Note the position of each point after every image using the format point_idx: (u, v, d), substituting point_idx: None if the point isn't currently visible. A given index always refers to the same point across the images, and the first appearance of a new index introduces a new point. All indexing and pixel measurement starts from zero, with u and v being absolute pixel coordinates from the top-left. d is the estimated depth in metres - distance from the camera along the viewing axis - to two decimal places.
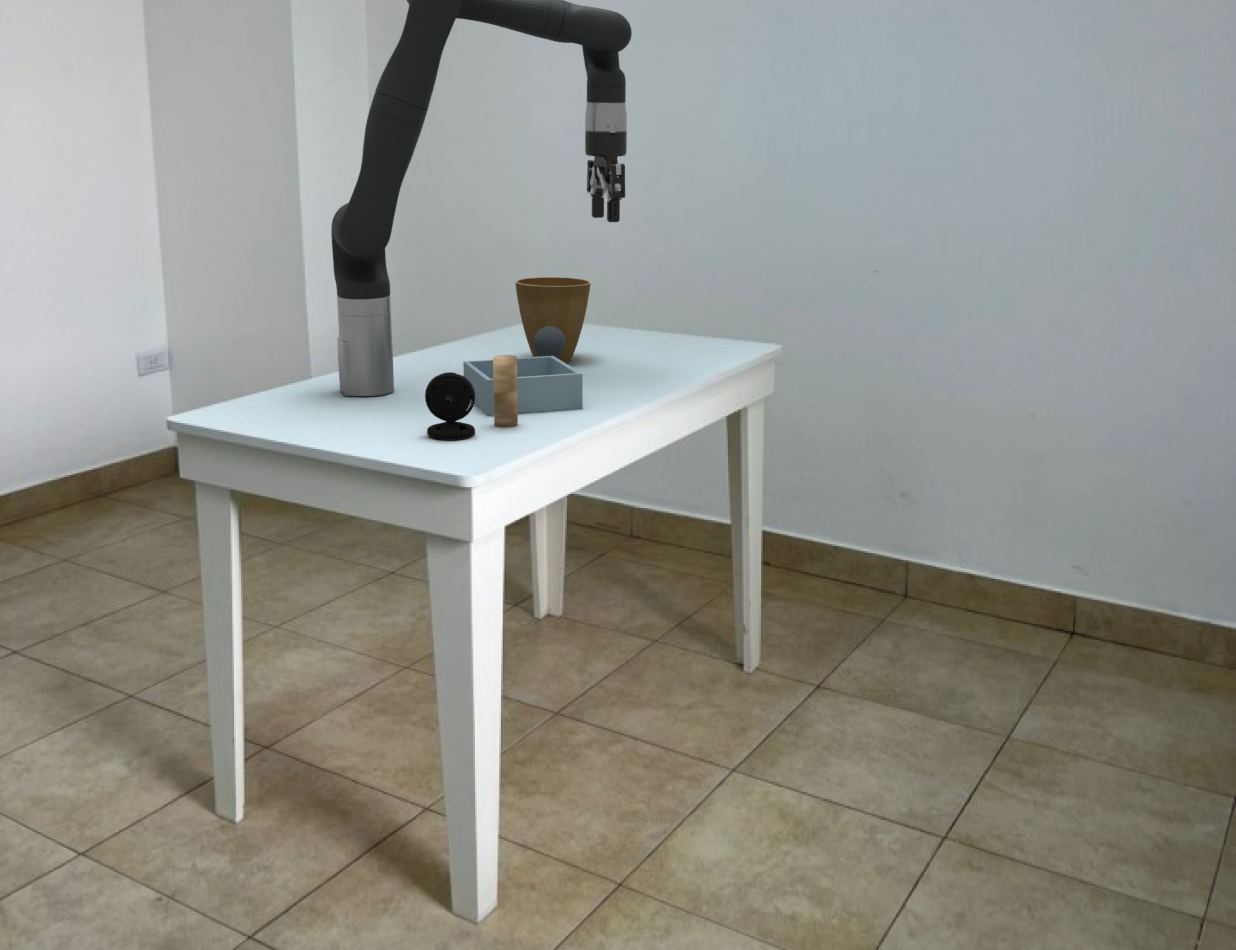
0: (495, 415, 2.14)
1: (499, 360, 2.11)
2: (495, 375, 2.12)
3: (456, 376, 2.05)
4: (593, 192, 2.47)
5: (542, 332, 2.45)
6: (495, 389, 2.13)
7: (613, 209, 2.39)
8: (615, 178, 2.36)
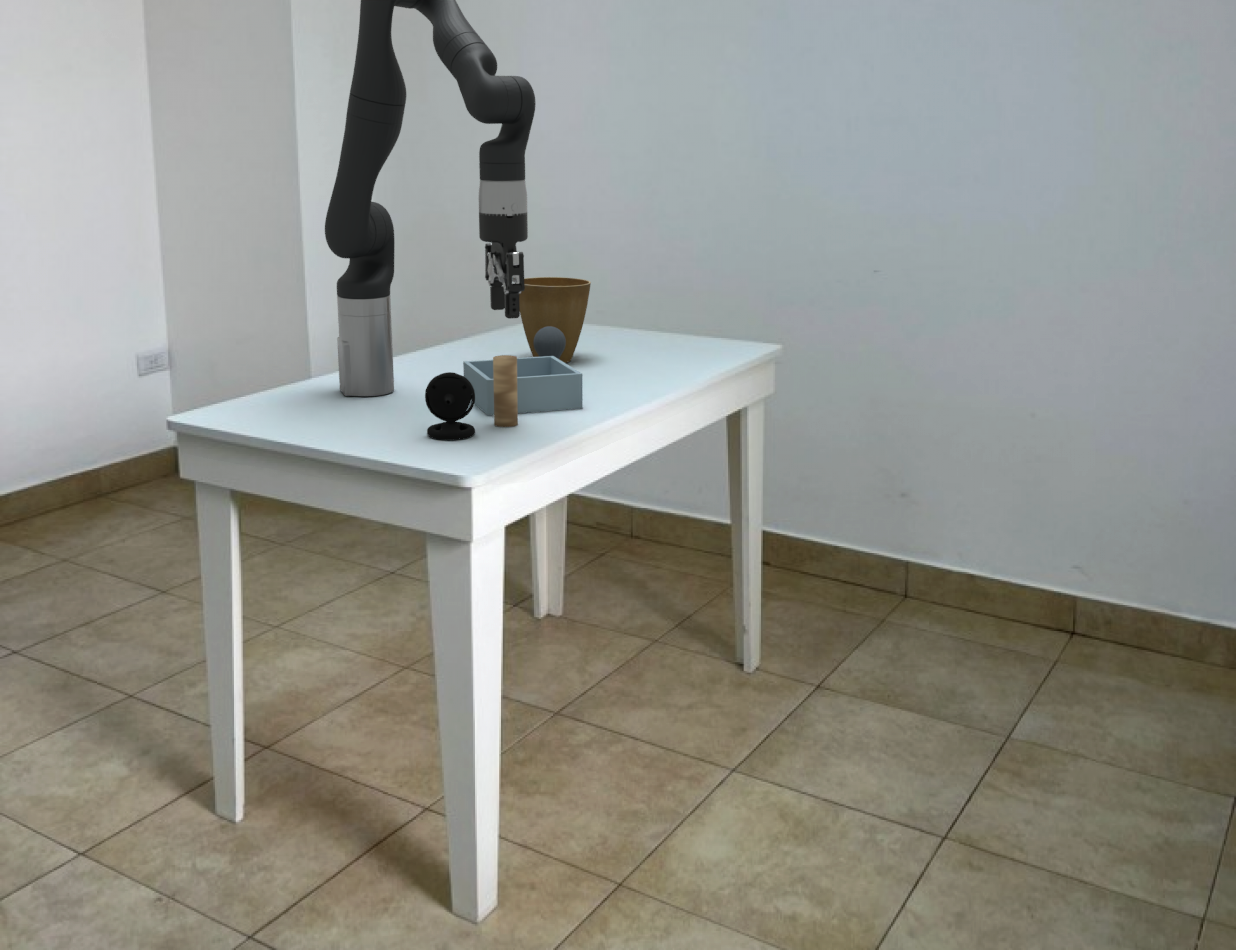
0: (495, 415, 2.14)
1: (499, 360, 2.11)
2: (495, 375, 2.12)
3: (456, 376, 2.05)
4: (491, 281, 2.13)
5: (542, 332, 2.45)
6: (495, 389, 2.13)
7: (511, 304, 2.05)
8: (512, 269, 2.02)
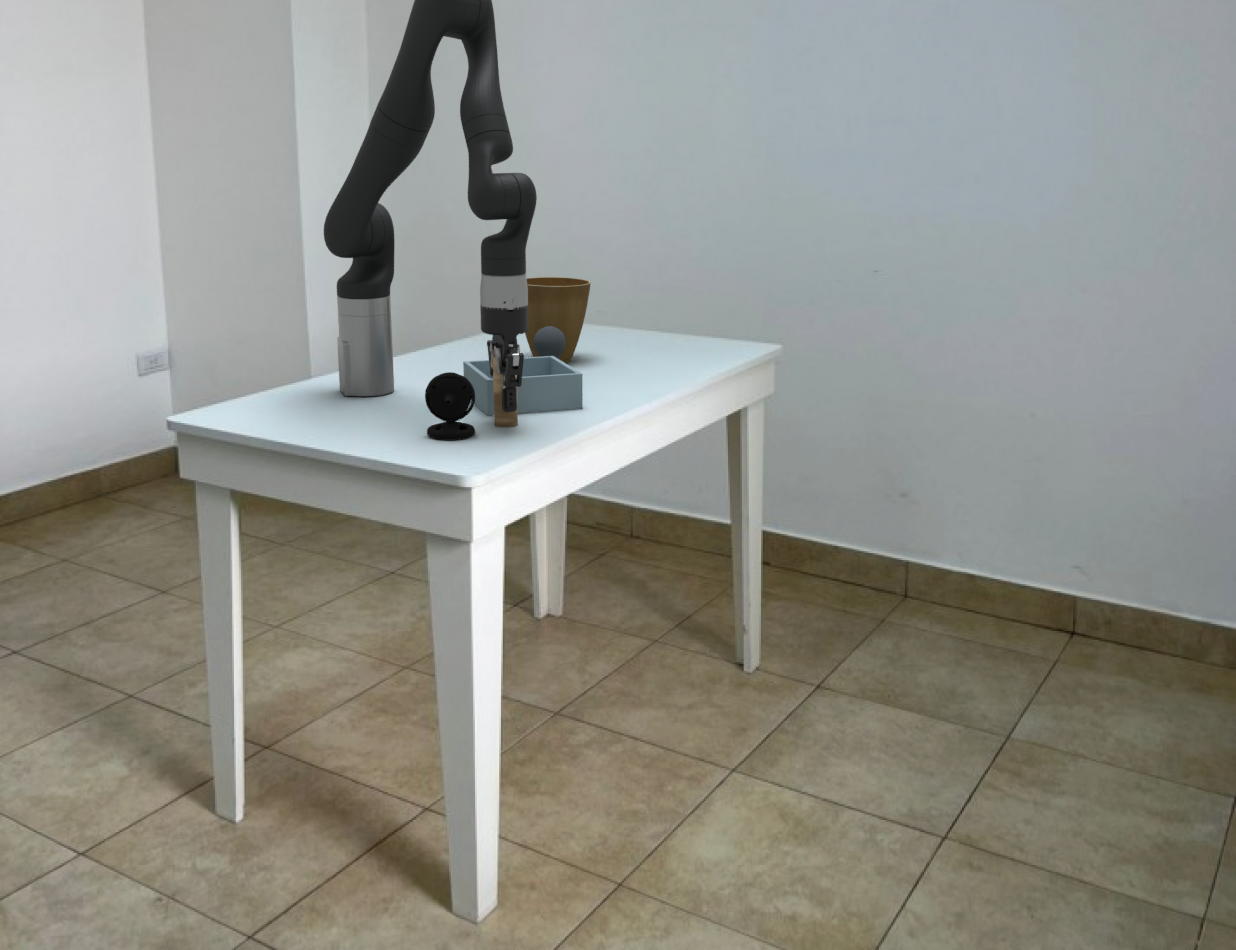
0: (495, 415, 2.14)
1: None
2: (495, 375, 2.12)
3: (456, 376, 2.05)
4: None
5: (542, 332, 2.45)
6: (495, 389, 2.13)
7: (508, 398, 2.11)
8: (511, 370, 2.07)
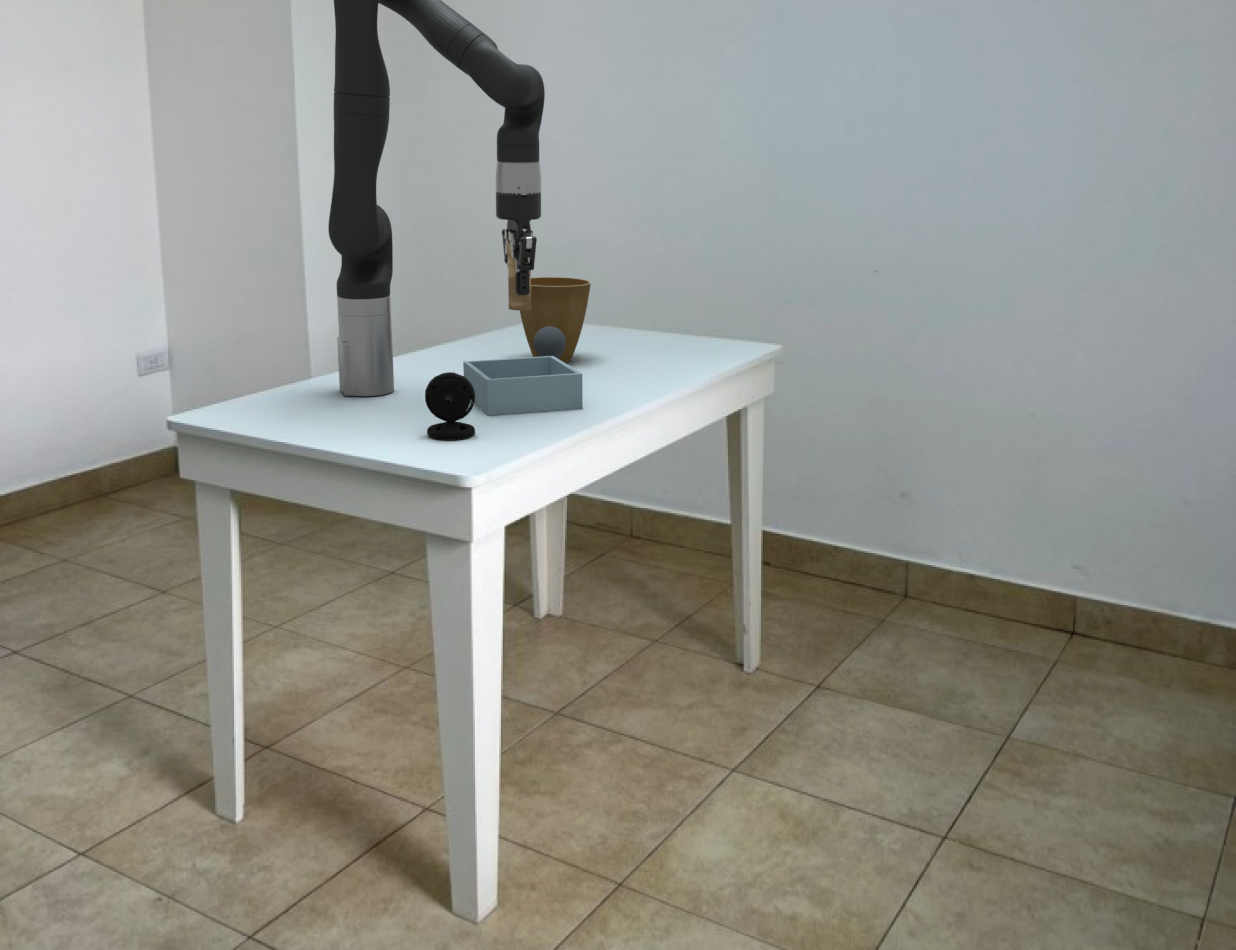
0: (509, 299, 2.25)
1: None
2: (510, 260, 2.23)
3: (456, 376, 2.05)
4: None
5: (542, 332, 2.45)
6: (510, 274, 2.24)
7: (522, 281, 2.22)
8: (524, 252, 2.18)
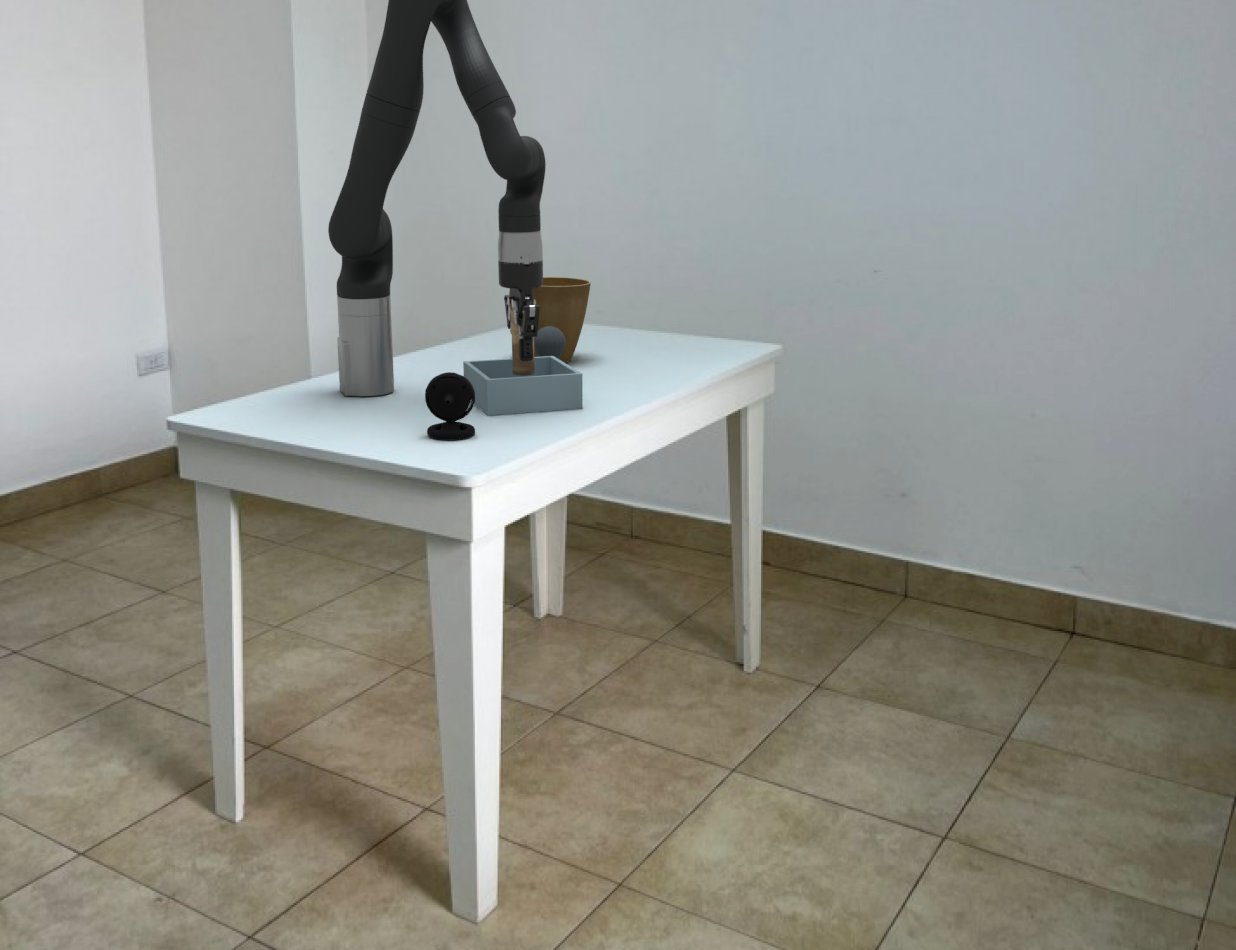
0: (513, 364, 2.29)
1: None
2: (513, 326, 2.27)
3: (456, 376, 2.05)
4: None
5: (542, 332, 2.45)
6: (513, 340, 2.28)
7: (525, 348, 2.26)
8: (528, 320, 2.22)
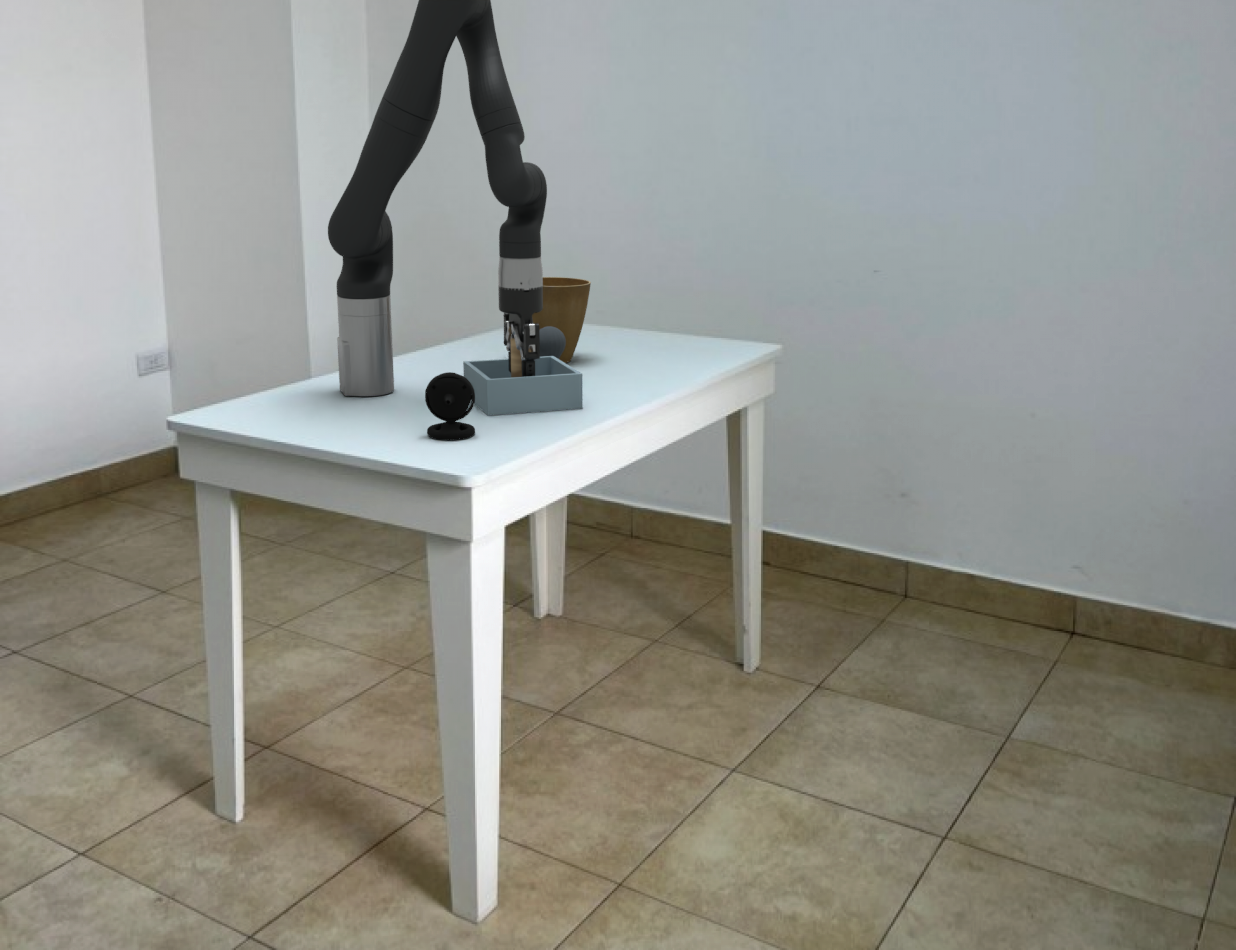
0: None
1: None
2: (512, 355, 2.28)
3: (456, 376, 2.05)
4: (509, 347, 2.32)
5: (542, 332, 2.45)
6: (512, 368, 2.29)
7: (528, 370, 2.25)
8: (529, 339, 2.22)
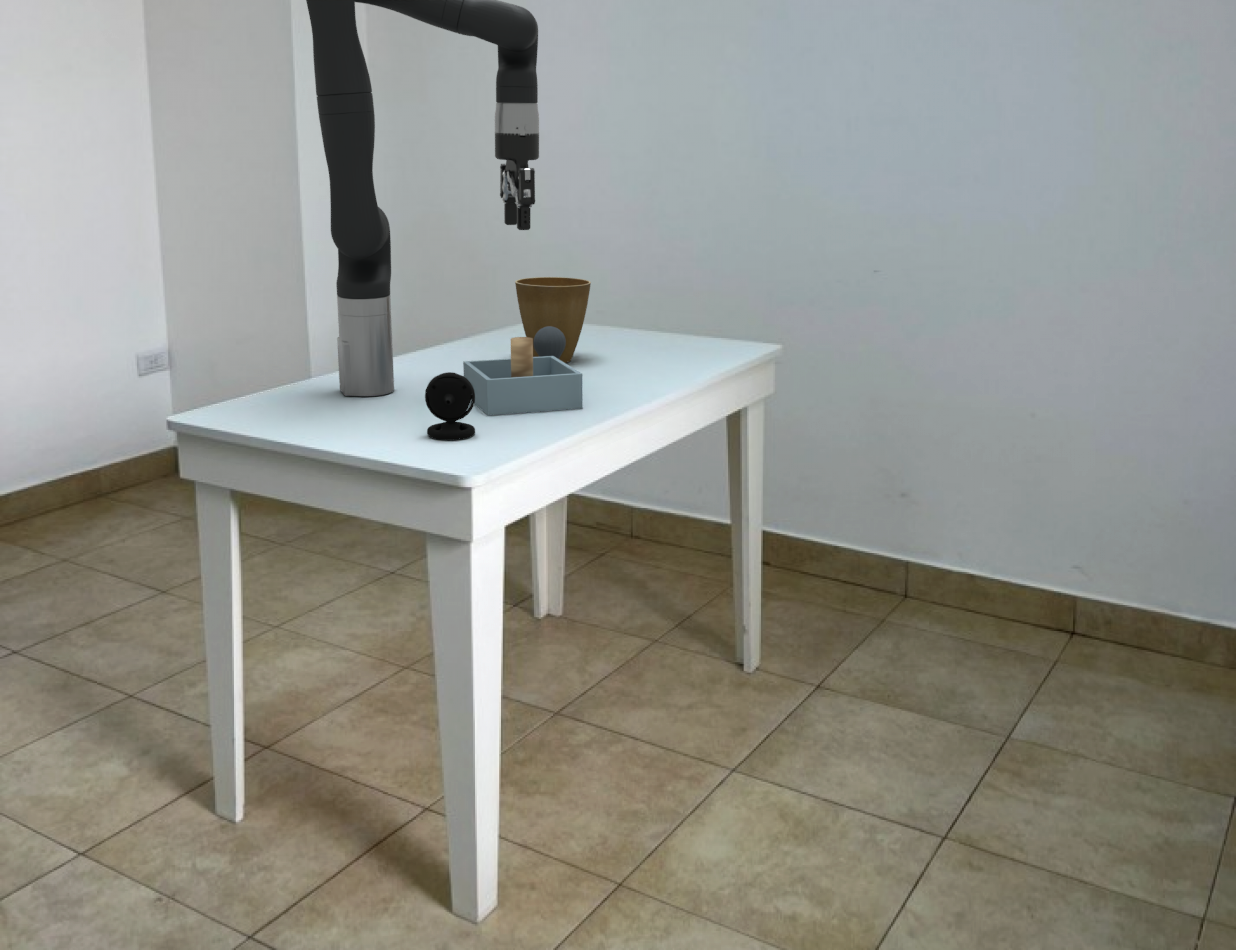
0: None
1: (516, 341, 2.27)
2: (512, 355, 2.28)
3: (456, 376, 2.05)
4: (505, 198, 2.33)
5: (542, 332, 2.45)
6: (512, 368, 2.29)
7: (523, 216, 2.25)
8: (524, 183, 2.22)
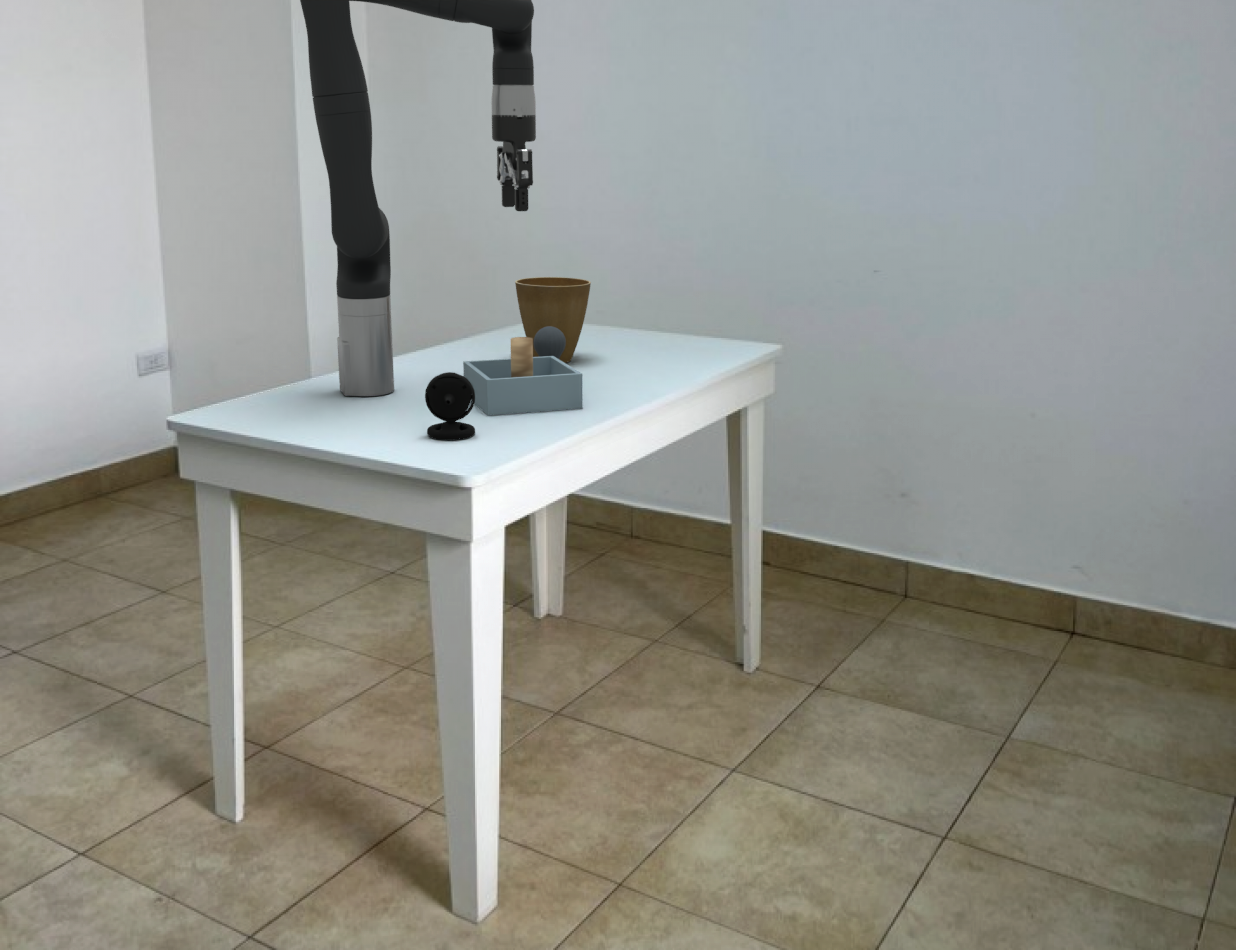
0: None
1: (516, 341, 2.27)
2: (512, 355, 2.28)
3: (456, 376, 2.05)
4: (503, 180, 2.34)
5: (542, 332, 2.45)
6: (512, 368, 2.29)
7: (521, 197, 2.27)
8: (522, 164, 2.24)
